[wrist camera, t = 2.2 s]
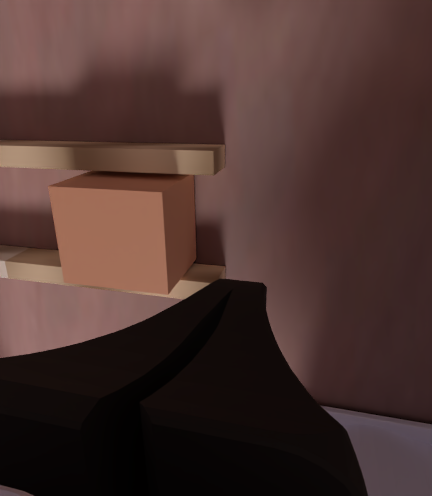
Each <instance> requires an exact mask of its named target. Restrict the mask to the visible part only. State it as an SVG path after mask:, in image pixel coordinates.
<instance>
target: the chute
mask: <svg viewBox="0 0 432 496" xmlns="http://www.w3.org/2000/svg"><path fill="white" fill-rule="evenodd" d="M0 167H18V168H42V169H67V170H91V171H116V172H140V173H165V174H190V175H215V174H216V173H218V172H219V171H220V170H222V169H223V168H224V167H225V145H219V144H173V143H127V142H81V141H35V140H0ZM0 277H2V278H10V279H19V280H27V281H35V282H44V283H52V284H61V285H69V286H78V287H86V288H95V289H103V290H111V291H120V292H128V293H137V294H145V295H154V296H162V297H171V298H179V299H186V298H187V297H189V296H191V295H192V294H194V293H196V292H197V291H199V290H201V289H202V288H204V287H205V286H207V285H209V284H210V283H212V282H214V281H216V280H218V279H225V266H216V265H206V264H195V263H193V264H192V265H191V266H190V268H189V269H188V270H187V271H186V273H185V274H184V275H183V277H182V278H181V279H180V280H179V282H178V283H177V284H176V286H175V287H174V288H173V289H172V291H171V292H170V293H169V295H165V294H157V293H148V292H140V291H131V290H123V289H114V288H106V287H97V286H89V285H80V284H71V283H64V279H63V273H62V267H61V261H60V255H59V250H49V249H38V248H28V247H17V246H7V245H0Z"/></svg>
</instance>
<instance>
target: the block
mask: <svg viewBox="0 0 432 496" xmlns="http://www.w3.org/2000/svg"><path fill="white" fill-rule="evenodd" d="M48 188H49V195H50V201H51V207H52V213H53V219H54V225H55V231H56V237H57V243H58V249H59V255H60V261H61V267H62V273H63V279H64V283H71V284H80V285H89V286H97V287H106V288H114V289H123V290H131V291H140V292H148V293H157V294H165V295H169V293H170V292H171V291H172V289H173V288H174V287H175V286H176V284H177V283H178V282H179V280H180V279H181V278H182V277H183V275H184V274H185V273H186V271H187V270H188V269H189V268H190V266H191V265H192V264H193V262H194V261H195V260H196V228H195V197H194V175H190V174H165V173H140V172H116V171H90V172H87V173H84V174H82V175H79V176H76V177H73V178H70V179H67V180H65V181H62V182H59V183H56V184H53V185H51V186H48Z"/></svg>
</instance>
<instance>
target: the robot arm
mask: <svg viewBox="0 0 432 496" xmlns="http://www.w3.org/2000/svg"><path fill="white" fill-rule="evenodd" d="M266 294H267V287H266V286H265V285H264V284H263V283H259V282H249V281H239V280H230V279H218V280H216V281H214V282H212V283H210V284H209V285H207V286H205V287H204V288H202V289H201V290H199V291H197V292H196V293H194V294H192V295H191V296H189V297H187V298H186V299H184V300H182V301H181V302H179V303H177V304H175V305H173V306H171V307H170V308H168V309H166V310H164V311H162V312H160V313H158V314H156V315H154V316H152V317H150V318H148V319H146V320H144V321H142V322H139V323H137V324H135V325H132V326H130V327H127V328H125V329H122V330H119V331H117V332H114V333H111V334H107V335H104V336H101V337H98V338H95V339H91V340H88V341H85V342H82V343H78V344H74V345H70V346H66V347H62V348H57V349H52V350H47V351H43V352H37V353H32V354H26V355H19V356H12V357H5V358H0V496H432V424H426V423H421V422H415V421H409V420H403V419H397V418H391V417H385V416H379V415H374V414H368V413H362V412H356V411H350V410H344V409H338V408H332V407H327V406H321V405H319V404H318V403H317V402H316V401H315V400H314V399H313V397H312V396H311V395H310V394H309V393H308V392H307V390H306V389H305V388H304V386H303V385H302V384H301V382H300V381H299V379H298V378H297V377H296V375H295V374H294V373H293V371H292V370H291V368H290V366H289V365H288V363H287V361H286V360H285V358H284V356H283V354H282V352H281V350H280V349H279V346H278V344H277V342H276V340H275V337H274V335H273V332H272V329H271V326H270V323H269V320H268V316H267V312H266Z"/></svg>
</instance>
